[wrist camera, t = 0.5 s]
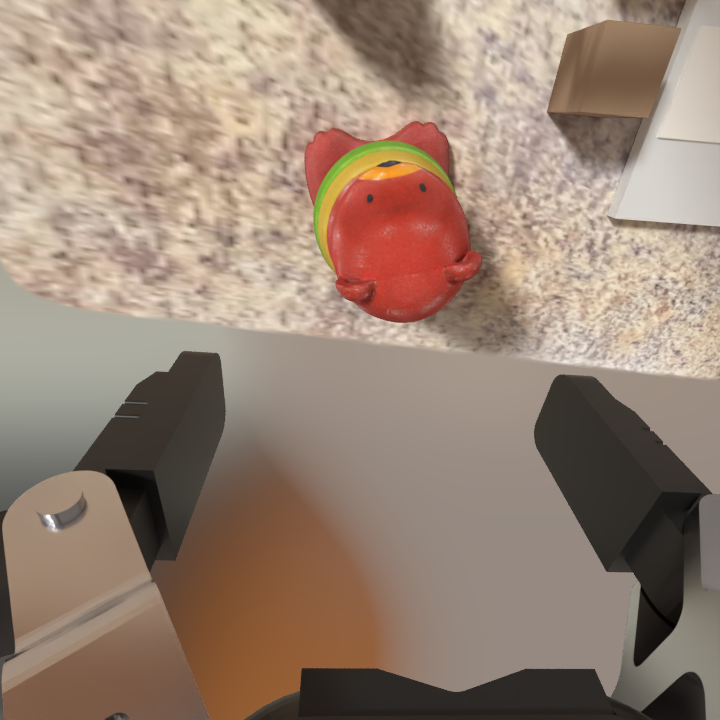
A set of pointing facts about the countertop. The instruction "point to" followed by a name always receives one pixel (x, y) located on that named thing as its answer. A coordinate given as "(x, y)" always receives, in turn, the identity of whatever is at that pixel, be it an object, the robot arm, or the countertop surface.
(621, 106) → the walnut block
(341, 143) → the stacking bear
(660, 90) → the build board
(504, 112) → the countertop surface
